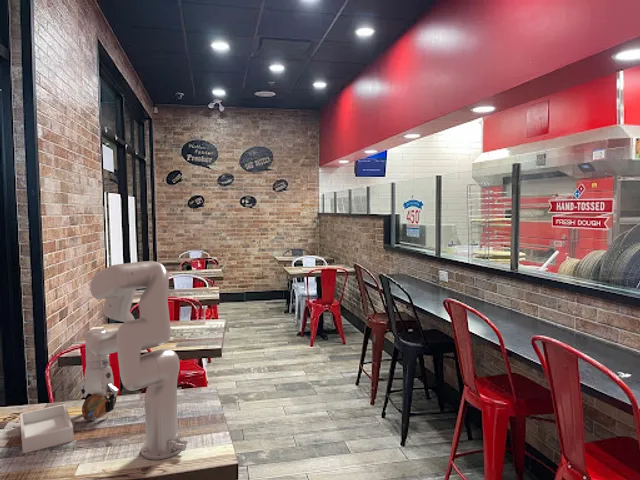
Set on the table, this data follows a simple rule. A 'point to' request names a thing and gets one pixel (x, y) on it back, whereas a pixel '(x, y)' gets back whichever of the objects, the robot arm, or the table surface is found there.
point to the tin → (94, 407)
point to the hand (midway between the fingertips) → (99, 408)
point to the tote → (45, 428)
